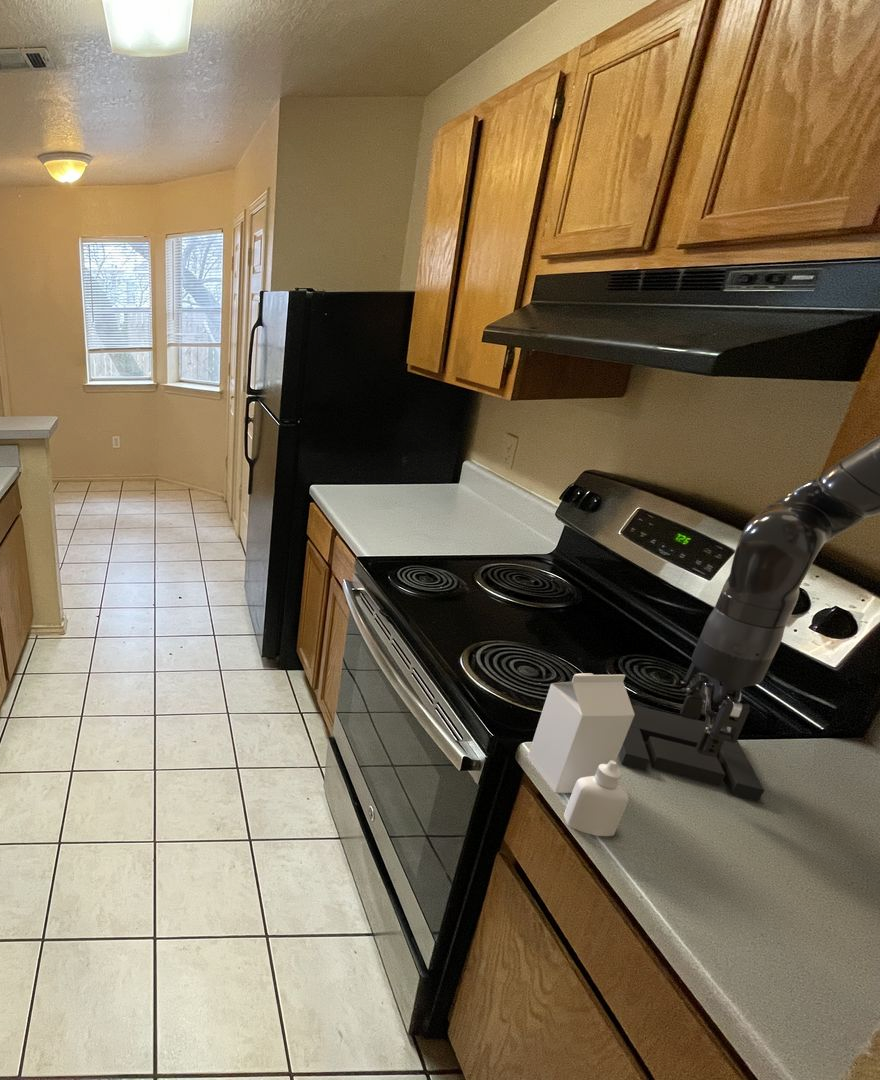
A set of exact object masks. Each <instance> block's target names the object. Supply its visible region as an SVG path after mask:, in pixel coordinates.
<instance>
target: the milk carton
mask: <svg viewBox="0 0 880 1080" xmlns="http://www.w3.org/2000/svg"><path fill="white" fill-rule="evenodd" d="M625 678H626V674H621V673H620V674H594V673H592V672H587V673H586V672H585V673H583V672H582V673H581V672H580V673H574V675H573V676H572V679H571V681H563V682H552V683H550V686H549V688H548V692H547V695H546V698H545V701H544V705H543V708H542V711H541V713H540V717H539V719H538V723H537V727H536V729H535V733H534V736H533V739H532V741H531V744H530V748H529V751H528V754H527V759H528V760H529V761H530V762H531V763H532V765H533V766H534V768H535V769H536V770H537V772H538V773H539V774H540V776H541V777H542V778H543V779H544V781H545V782H546V783H547V784H548V785H549V787H550V788H551V790H552V791H553V792H554V793H555V794H572V791H573V789H574V786H575V784H576V782H577V780H578V779H580V778H583V777H589V776H595V774H596V772H597V769H598V767H599V765H600V764H608V763H609V761H610V760H612V761H615V762H616V763H617V760H618V757H619V752H620V750H621V747H622V745H623V742H624V740H625V737H626V735H627V732H628V730H629V727H630V725H631V722H632V720H633V717H634V715H635V714H634V711H633V708H632V705H633V704H632V703H631V700H630V696H629V694H628V692H627V688H626V686H625V682H624V680H625ZM631 704H632V705H631Z"/></svg>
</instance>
